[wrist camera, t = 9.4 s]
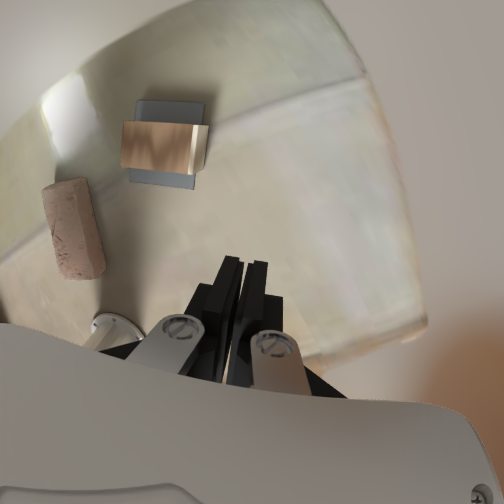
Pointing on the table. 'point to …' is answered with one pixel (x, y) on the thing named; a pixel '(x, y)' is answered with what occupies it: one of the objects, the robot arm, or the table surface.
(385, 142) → the table surface
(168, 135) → the block
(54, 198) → the brick
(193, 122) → the mat
